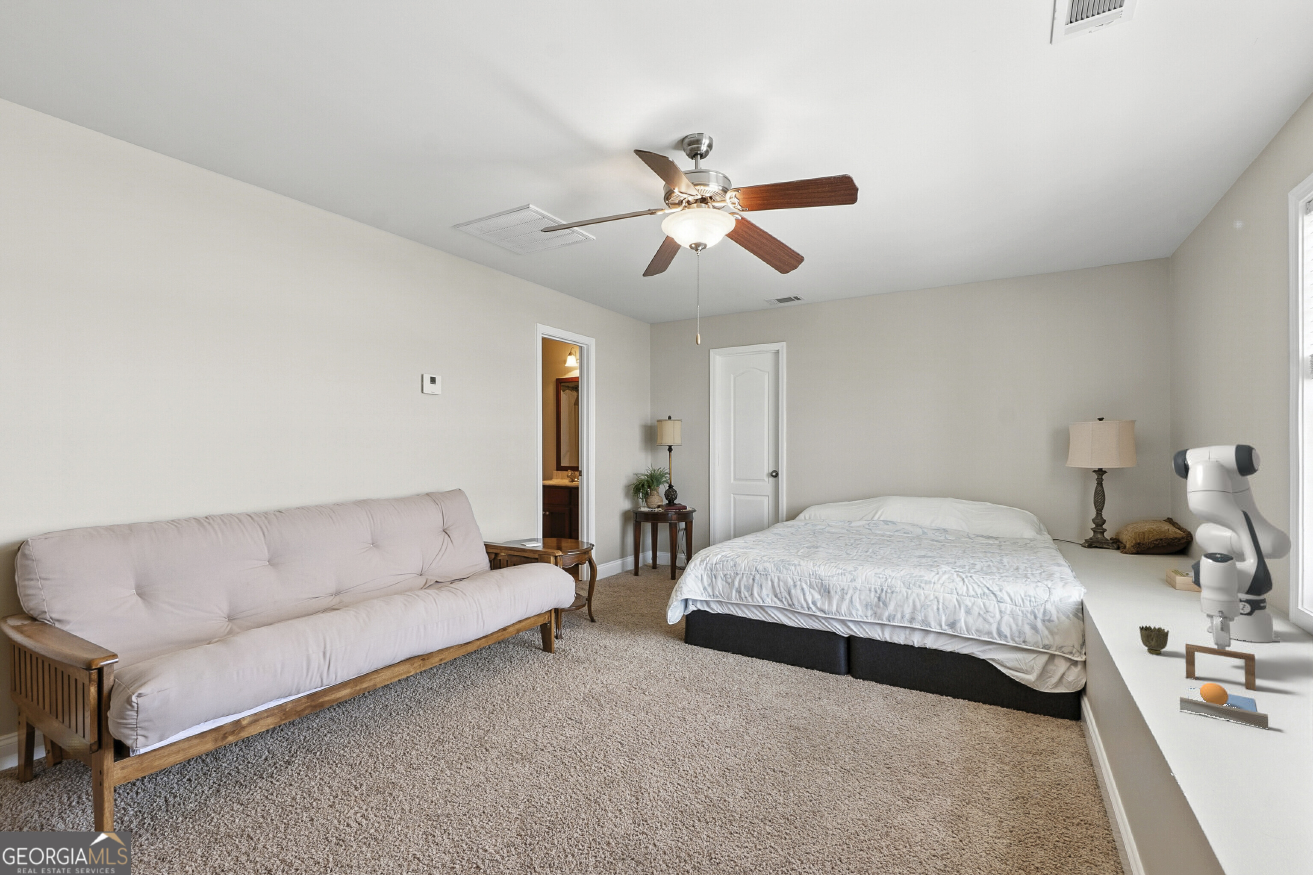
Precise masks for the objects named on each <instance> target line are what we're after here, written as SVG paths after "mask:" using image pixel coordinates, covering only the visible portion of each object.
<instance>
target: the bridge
mask: <svg viewBox="0 0 1313 875" xmlns="http://www.w3.org/2000/svg"><path fill="white" fill-rule="evenodd" d="M1184 648H1185V678H1186V679H1188V678H1193V679H1192V680H1194V679H1195V680H1196V657H1195V656H1196V653H1199V654H1207V655H1213V656H1217V657H1224V658H1231V659H1236V660H1242V661H1244V687H1245V690H1250V691H1254V692H1255V691H1256V690H1257V687H1256V684H1257V683H1256V656H1255V654H1254V653H1249V652H1242V651H1235V650H1229V649H1226V650H1224V649H1217V647H1216V648H1215V647H1209V646H1204V645H1197V644H1190V643H1185V647H1184Z"/></svg>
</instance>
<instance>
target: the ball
mask: <svg viewBox="0 0 1313 875" xmlns="http://www.w3.org/2000/svg"><path fill="white" fill-rule="evenodd" d="M1228 694H1229V693H1228V692H1227V690H1226V689H1225V687H1223V686H1221V685H1220V684H1218V683H1215V682H1207V683H1204V684H1203V685H1201V687H1200V695H1201V697H1202V698H1203V700H1204V701H1206V702H1208V703H1213V704H1218V705H1224V704H1225V703H1226V702H1227V701H1228Z"/></svg>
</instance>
